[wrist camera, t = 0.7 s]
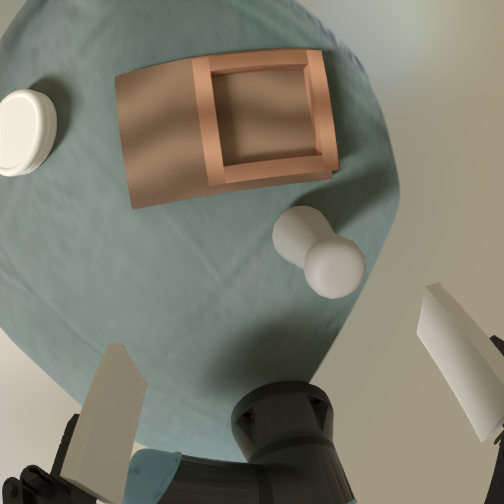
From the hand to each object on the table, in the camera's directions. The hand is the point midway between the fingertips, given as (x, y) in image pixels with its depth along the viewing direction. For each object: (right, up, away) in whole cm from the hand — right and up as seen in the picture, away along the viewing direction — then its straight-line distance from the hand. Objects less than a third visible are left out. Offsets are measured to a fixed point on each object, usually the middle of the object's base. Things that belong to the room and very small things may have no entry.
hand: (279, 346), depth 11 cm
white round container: (-27, +18, +13) cm, 35 cm away
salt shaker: (+3, +6, +20) cm, 21 cm away
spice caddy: (-4, +17, +15) cm, 23 cm away
